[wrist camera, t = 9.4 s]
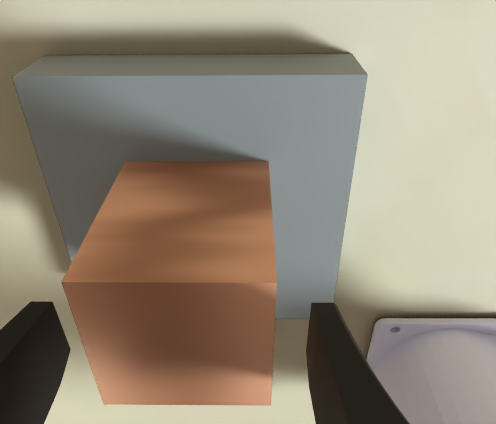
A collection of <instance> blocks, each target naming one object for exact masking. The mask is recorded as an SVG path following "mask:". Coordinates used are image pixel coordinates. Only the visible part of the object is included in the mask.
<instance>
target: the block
mask: <svg viewBox="0 0 496 424" xmlns="http://www.w3.org/2000/svg"><path fill="white" fill-rule="evenodd" d="M62 285H63V288H64V291H65V294H66V297H67V300H68V302H69V305H70V308H71V311H72V314H73V317H74V320H75V323H76V326H77V329H78V331H79V334H80V337H81V340H82V343H83V346H84V349H85V352H86V355H87V358H88V360H89V363H90V366H91V369H92V372H93V375H94V378H95V381H96V384H97V387H98V389H99V392H100V395H101V398H102V401H103V404H138V405H271V394H272V373H273V352H274V331H275V310H276V289H277V278H276V263H275V248H274V233H273V218H272V203H271V188H270V173H269V161H125V163H124V165H123V166H122V168H121V170H120V172H119V174H118V176H117V178H116V180H115V182H114V184H113V185H112V187H111V189H110V191H109V193H108V195H107V197H106V199H105V201H104V202H103V204H102V206H101V208H100V210H99V212H98V214H97V216H96V218H95V220H94V221H93V223H92V225H91V227H90V229H89V231H88V233H87V235H86V237H85V238H84V240H83V242H82V244H81V246H80V248H79V250H78V252H77V254H76V256H75V257H74V259H73V261H72V263H71V265H70V267H69V269H68V271H67V273H66V274H65V276H64V278H63V280H62Z"/></svg>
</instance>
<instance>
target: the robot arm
mask: <svg viewBox="0 0 496 424" xmlns="http://www.w3.org/2000/svg"><path fill="white" fill-rule="evenodd" d="M69 353H70V347H69V344H68V341H67V339H66V336H65V333H64V331H63V328H62V326H61V323H60V320H59V318H58V315H57V312H56V310H55V307H54V304H53V302H30V303H29V304H28V305H27V306H26V307H25V308H23V309H22V310H21V311H20V312H19V313H18V314H17V315H16V316H15V317H14V318H13V319H12V320H11V321H10V322H9V323H7V324H6V325H5V326H4V327H3V328H2V329H1V330H0V424H44V422H45V420H46V417H47V415H48V413H49V410H50V408H51V406H52V403H53V401H54V399H55V396H56V394H57V391H58V389H59V387H60V384H61V381H62V377H63V374H64V371H65V367H66V364H67V360H68V356H69ZM306 354H307V367H308V379H309V388H310V394H311V400H312V405H313V410H314V416H315V421H316V424H496V318H383V319H380V320H378V321H377V322H376V323H375V326H374V330H373V334H372V338H371V343H370V347H369V351H368V355H367V359H365V357H364V356H363V354H362V353H361V351H360V349H359V347H358V346H357V344H356V342H355V340H354V339H353V337H352V335H351V333H350V331H349V329H348V328H347V326H346V324H345V322H344V320H343V318H342V316H341V314H340V311H339V309H338V307H337V305H336V304H334V303H311V311H310V320H309V329H308V339H307V348H306Z"/></svg>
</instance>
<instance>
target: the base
mask: <svg viewBox="0 0 496 424" xmlns="http://www.w3.org/2000/svg"><path fill="white" fill-rule="evenodd" d="M12 79H13V82H14V85H15V88H16V91H17V94H18V97H19V101H20V104H21V107H22V110H23V113H24V116H25V119H26V122H27V125H28V129H29V132H30V135H31V138H32V141H33V144H34V147H35V150H36V153H37V157H38V160H39V163H40V166H41V169H42V172H43V175H44V178H45V181H46V185H47V188H48V191H49V194H50V197H51V200H52V203H53V206H54V210H55V213H56V216H57V219H58V222H59V225H60V228H61V231H62V234H63V238H64V241H65V244H66V247H67V250H68V253H69V256H70V259H71V262H72V261H73V259H74V257H75V256H76V254H77V252H78V250H79V248H80V246H81V244H82V242H83V240H84V238H85V237H86V235H87V233H88V231H89V229H90V227H91V225H92V223H93V221H94V220H95V218H96V216H97V214H98V212H99V210H100V208H101V206H102V204H103V202H104V201H105V199H106V197H107V195H108V193H109V191H110V189H111V187H112V185H113V184H114V182H115V180H116V178H117V176H118V174H119V172H120V170H121V168H122V166H123V165H124V163H125V161H269V173H270V188H271V203H272V218H273V233H274V248H275V263H276V278H277V289H276V310H275V319H310V311H311V303H333V301H334V295H335V288H336V281H337V275H338V268H339V261H340V255H341V248H342V242H343V235H344V228H345V222H346V215H347V208H348V202H349V195H350V188H351V182H352V175H353V168H354V162H355V155H356V149H357V142H358V135H359V129H360V122H361V115H362V109H363V102H364V95H365V89H366V82H367V73H366V72H365V71H364V69H363V68H362V67H361V65H360V64H359V62H358V61H357V60H356V58H355V57H354V56H353V54H201V55H44V56H43V57H41V58H40V59H38V60H37V61H35V62H33V63H32V64H30V65H29V66H27V67H26V68H24V69H23V70H21V71H20V72H18V73H17V74H15V75H13V76H12Z"/></svg>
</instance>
